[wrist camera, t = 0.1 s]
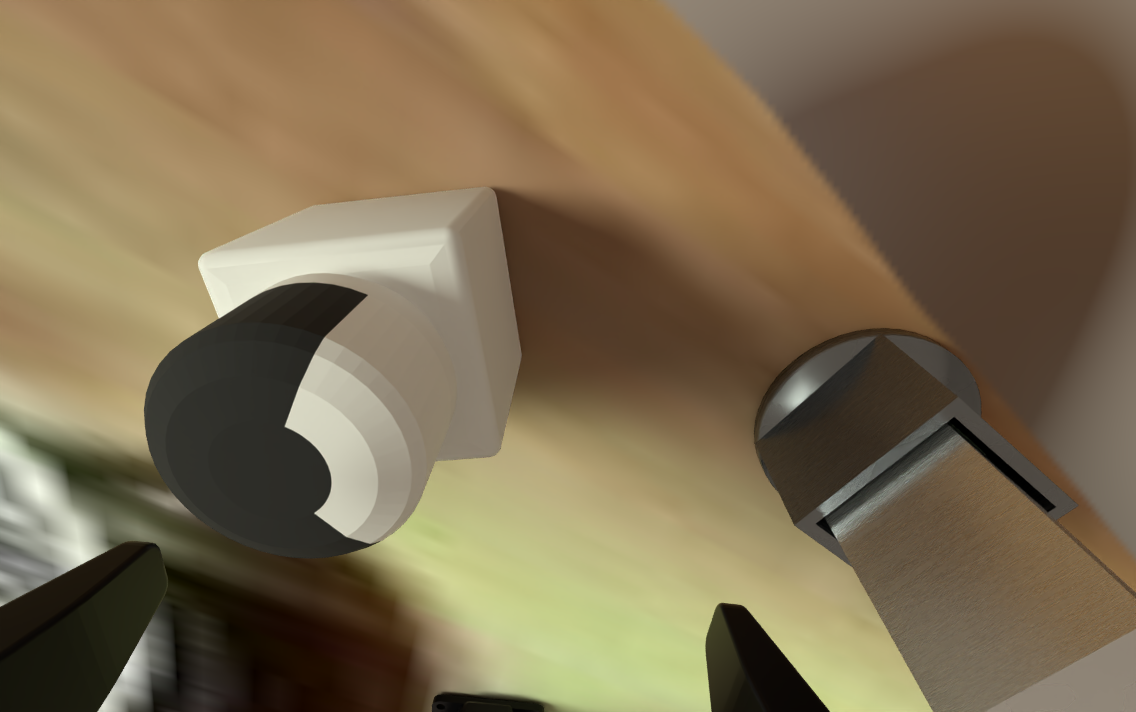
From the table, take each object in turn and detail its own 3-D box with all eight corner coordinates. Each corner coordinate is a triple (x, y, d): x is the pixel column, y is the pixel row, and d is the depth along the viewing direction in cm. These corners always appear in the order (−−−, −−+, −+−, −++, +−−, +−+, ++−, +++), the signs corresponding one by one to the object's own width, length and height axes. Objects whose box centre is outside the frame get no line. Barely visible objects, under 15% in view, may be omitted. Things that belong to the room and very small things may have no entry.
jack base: (845, 536, 27) (907, 643, 22) (711, 436, 25) (744, 528, 20) (1013, 411, 24) (1132, 501, 19) (876, 284, 22) (968, 346, 17)
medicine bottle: (358, 373, 24) (175, 606, 13) (308, 204, 21) (17, 328, 10) (523, 359, 24) (472, 589, 13) (496, 183, 21) (398, 290, 10)
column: (859, 502, 25) (1065, 813, 14) (780, 442, 24) (942, 733, 13) (957, 427, 24) (1276, 718, 13) (878, 358, 22) (1157, 615, 11)
